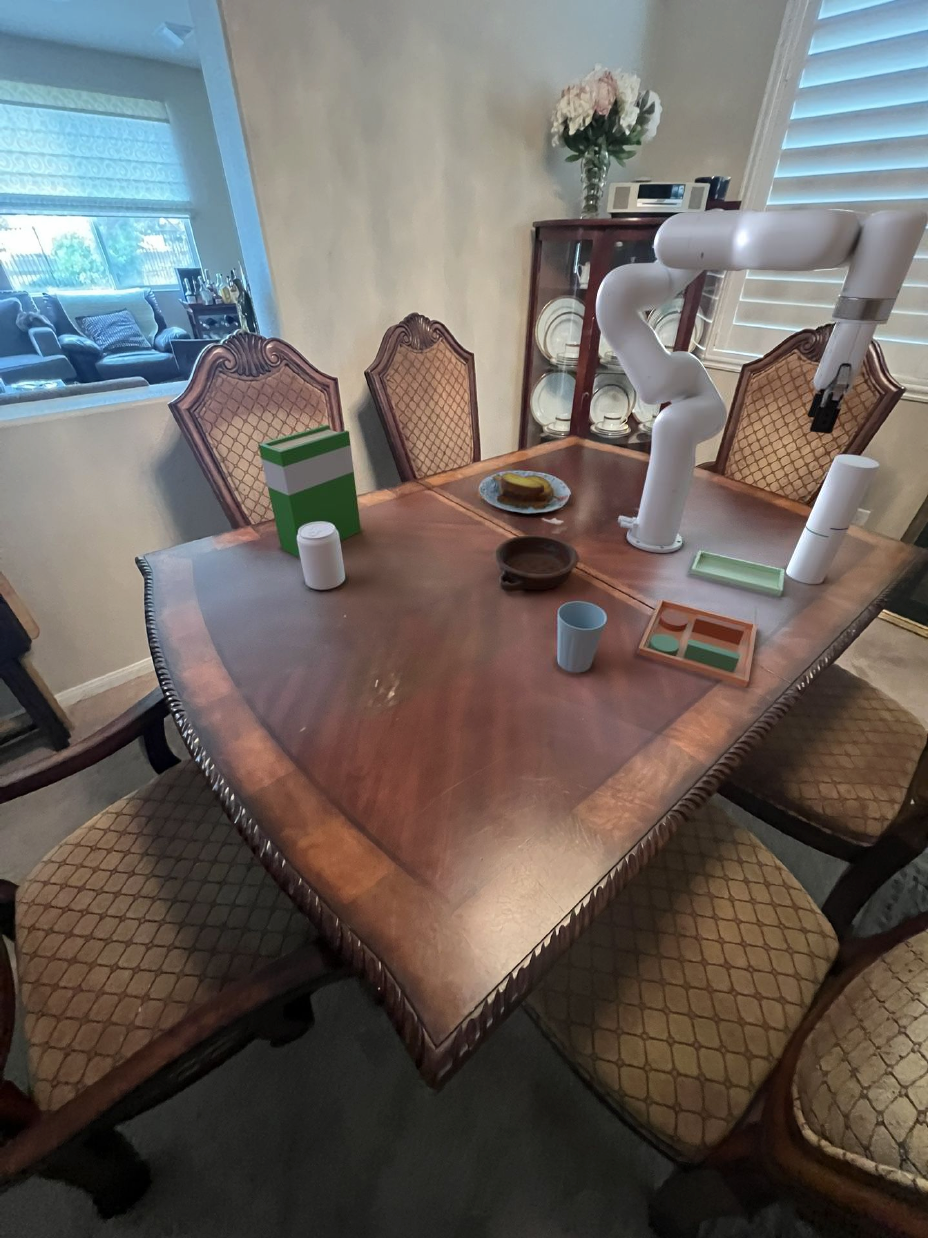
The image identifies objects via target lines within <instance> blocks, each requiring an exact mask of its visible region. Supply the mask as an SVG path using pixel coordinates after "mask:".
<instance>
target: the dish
mask: <svg viewBox="0 0 928 1238" xmlns="http://www.w3.org/2000/svg"><path fill="white" fill-rule="evenodd" d="M494 559H495V561H496V563H497V565H498V569H499V572H500V573H501V575H500V577H499V583H498V584H499V585H498V586H499V588H500V589H501V590H503V591H505V592H516V591H519V590H522V589H525V590H531V591H542V590H543V591H545V590H549V589H553V588H555V587H558V586H560V585H562V584H563V583H564V582H566V580H567V579H569V577H570V575H571V574H572V572H573V570H574V569H575V568H576V567H577V566H578V563H579V562H580V561H579V560H580V556H579V553H578V552H577V550H576V548H574V547H573V546H572V545H570V544H568V543H567V542H565V541H563V540H560V539H557V538H553V537H550V536H543V535H537V534H536V535H535V534H534V535H533V534H530V535H519V536H514V537H510V538H508V539H506V540H505V541H503V542H501V543H500V544H498V545H497V547H496V548H495V550H494Z"/></svg>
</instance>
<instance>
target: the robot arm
mask: <svg viewBox="0 0 928 1238" xmlns="http://www.w3.org/2000/svg"><path fill="white" fill-rule="evenodd" d="M927 226H928V213H927V212H926V211H924V210H921V209H890V210H887V209H885V210H879V211H876V212H874V213H872V212H863V211H857V210H849V209H837V208H813V209H792V210H791V209H790V210H788V209H787V210H763V211H760V210H757V209H754V208H753V209H747V208H746V209H732V210H731V209H729V210H727V209H726V210H705V211H684V212H680V213H677V214H674V215H672V216H670V217H669V218H667V219H666V220H665V221H664V222H663V223H662V224H661V225H660V227H659V228H658V230H657V232H656V234H655V237H654V241H653V251H654V254H655V258H656V260H655V261H654V262H640V263H639V262H638V263H637V262H636V263H627V264H623V265H620V266H618V267H615V268H613V269H612V270H611V271H610V272H609V273H607V274H606V275H605V276H604V278H603V279H602V282H601V283H600V285H599V288H598V291H597V295H596V301H595V318H596V322H597V325H598V328H599V331H600V333H601V335H602V337H603V338H604V340H605V341H606V343H607V345H608V347H610V349H611V351H612V352H613V354H614V355H615V357H616V359H617V360H618V362H619V364H620V366H621V368H622V369H623V371H624V373H625V375H626V377H627V379H628V380H629V382H630V384H631V386H632V387H633V389H634V391H635V393H636V394H637V396H638V397H639V399H640V400H641V401H642V402H643V403H644V404H646V405H651V406H655V405H660V404H661V405H662V404H665V403H668V402H670V403H671V404H669V405H667V406H665V407H664V408H663V409H662V410H661V411H660V412H659V413H658V414H657V416H656V418H655V420H654V422H653V425H652V430H651V448H650V456H649V462H648V467H647V472H646V478H645V482H644V486H643V491H642V495H641V500H640V503H639V508H638V514H637V517H635V516H632V517H628V516H624V515H619V516H618V518H617V524H619V528H621V529H627V532H626V540H627V541H628V542H629V544H631V545H632V546H634V547H635V548H637V549H640V550H642V551H644V552H649V553H654V554H655V553H658V554H667V553H672V552H675V551H679V549H680V548H681V547H682V544H683V538H682V536H681V535H680V534H679V529H680V525H681V521H682V519H683V514H684V510H685V507H686V504H687V499H688V496H689V492H690V489H691V486H692V481H693V477H694V474H695V470H696V453H697V452H696V451H697V450H696V449H697V447H698V445H700V444H701V443H703V442H706V441H709V440H711V439H712V438H715V437H716V436H717V435H719V434H720V433H721V432H722V430H724V427H725V426H726V423H727V418H728V412H727V406H726V404H725V403H726V402H725V401H724V399H723V397H722V396H721V394H720V392H719V390H718V388H717V387H716V385H715V383H714V382H713V380H712V378H711V377H710V375H709V373H708V371H707V369H706V368H705V366H704V365H703V363H702V362H701V360H700V359H699V358H697V356H695V355H694V354H693V353H690V352H689V351H688V352H687V351H684V350H678V351H671V352H670V351H668V350H667V349H666V347H665V346H664V345H663V344H662V342H661V340H660V339H659V336H658V335H657V333H656V331H655V329H654V328H653V327H652V326H651V325H650V324H649V323H648V322H647V321H646V320H645V319H644V318H643V317H642V316H641V315H640V313H639V312H649V311H655V310H657V309H660V308H662V307H665V305H667V304H668V303H670V302H671V301H672V300H673V299H674V298H675V297H677V296H678V294H680V293H681V292H682V291H683V290H684V289H685V288H686V287H687V286H688V285H690V284H691V283H692V282H693V281H694V280H695V279H696V278H698V276H700V274H702V273H703V272H704V271H726V272H727V271H728V272H741V271H743V270H753V271H777V272H778V271H783V272H816V271H831V270H839V269H846V268H848V269H847V272H846V274H845V277H844V280H843V283H842V286H841V289H840V292H839V294H838V297H837V300H836V303H835V306H834V309H833V311H832V314H831V317H830V321H831V322H835V325H834V327H833V329H832V332H831V334H830V336H829V339H828V342H827V344H826V347H825V349H824V352H823V354H822V356H821V359H820V362H819V365H818V367H817V370H816V373H815V374H814V377H813V386H814V389H815V390H816V392H815V394H814V396H813V399H812V402H811V404H810V407H809V409H808V412H807V417H808V418H812V422H811V425H810V427H809V431H810V433H811V432H812V433H820V434H826V435H827V434H828V435H830V434H831V433H832V432H833V430H834V428H835V425H836V423H837V421H838V417H839V415H840V413H841V410H842V406H843V403H844V399H845V395H846V394H847V393H849V392H851V390H852V389H853V386H854V384H855V383H856V380H857V377H858V375H859V374H860V373H859V372H860V371H861V368H862V366H863V363H864V360H865V358H866V355H867V353H868V350H869V348H870V345H871V344H872V341H873V338H874V335H875V332H876V329H877V327H878V325H885V324H888V321H889V319H890V316H891V314H892V311H893V309H894V306H895V304H896V301H897V300H898V299H897V298H898V297H899V294H900V291H901V289H902V287H903V285H904V283H905V280H906V278H907V275H908V272H909V270H910V267H911V265H912V263H913V260H914V257H915V256H916V252H917V251H918V248H919V245H920V243H921V241H922V239H923V236H924V234H925V231H926V228H927Z"/></svg>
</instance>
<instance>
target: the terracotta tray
mask: <svg viewBox="0 0 928 1238" xmlns="http://www.w3.org/2000/svg"><path fill="white" fill-rule="evenodd" d="M668 610H673V611H677V612H680V613H682V614H684V615H685V616H686V617H687V619H688V623H687V626H686V628H685V629H684V630H683V631H679V632H674V631H669V630H667V629H665V628H663V627H662V626H661V625H660V623H659V619H660V616H661V613H662V612H664V611H668ZM697 614H699V615H703V616H706V617H710V618H714V619H717V620H721V621H725V622H728V623H732V624H736V625H739V626H743V627H745V630H744V634H743V636H742V638H741V641H740V643H739V645H737V644H733V643H730V642H726V641H723V640H719V639H716V638H712V637H709V636H705V635H702V634H698V633H695V632H692V628H693V625H694V622H695V619H696V616H697ZM645 629H646V630H645V632H644V634H643V635H642V636H643V637H642V639H641V641H640V643H639V646H638V649H637V652H636V654H638V655H641V656H644V657H647V658H650V659H654V660H657V661H660V662H663V663H667V664H670V665H673V666H676V667H680V668H683V669H686V670H689V671H693V672H695V673H699V674H702V675H706V676H707V677H710V678H711V677H712V678H715V679H718V680H721V681H725V682H728V683H731V684H733V685H737V686H741V687H744V688H747V687H748V685H749V681H750V676H751V671H752V670H751V669H752V663H753V657H754V651H755V643H756V638H757V637H756V636H757V631H758V623H754V622H751V621H747V620H744V619H739V618H736V617H732V616H728V615H725V614H721V613H717V612H714V611H710V610H706V609H702V608H698V607H695V606H690V605H687V604H683V603H679V602H676V601H672V600H669V599H664V598H661V597H660V598H659V600H658V602H657V604H656V607H655V609H654V610H653V613H652V616H651V618H650V620H649V623H648V625H647V626H646V628H645ZM658 634H664V635H668V636H671V637H673V638H675V639H676V640H677V641H678V642H679V650H678V653H677V654H676V655H675V656H672V655H668V654H665V653H662V652H658V651H655V650H652V649H650V648H649V643H650V640H651V638H652V637H653V636H654V635H658ZM689 639H691V640H694V641H698V642H701V643H705V644H708V645H712V646H715V647H718V648H722V649H725V650H729V651H732V652H736V653H739V654H740V657H739V661H738V663H737V666H736V668H735V670H734V673H732V672H729V671H725V670H722V669H719V668H716V667H712V666H709V665H706V664H702V663H699V662H696V661H693V660H689V659H686V658H683V657H684V653H685V650H686V647H687V644H688V641H689Z"/></svg>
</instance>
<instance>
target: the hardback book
mask: <svg viewBox="0 0 928 1238" xmlns="http://www.w3.org/2000/svg"><path fill="white" fill-rule="evenodd" d="M257 446H258V450H259V454H260V459H261V464H262V468H263V473H264V478H265V482H266V486H267V491H268V496H269V499H270V504H271V508H272V513H273V516H274V517H273V519H274V522H275V526H276V531H277V535H278V540H279V544H280V549H281V550H283V551H284V552H286V553H289V554H291V555H293V556H295V557H296V558H299V559H300V560H301V558H300V553H299V548H298V543H297V535H298V530H299V528H300V527H301V526H303V525H305V524H308V523H311V522H319V521H322V522H329V523H331V524H333V525H334V526H335V528H336V530H337V531H338V533H339V538H340V542H341V541H342V540H345V539H347V538H350V537H352V536H354V535H356V534H359V533H360V532H362V528H361V520H360V513H359V511H360V510H359V503H358V494H357V486H356V478H355V469H354V462H353V453H352V445H351V436H350V431H349V430H343V431H339V432H338V431H335V430H332V429H331V425H330V424H324V425H321V426H317V427H313V428H311V429H307V430H303V431H300V432H296V433H292V434H289V435H286V436H282V437H279V438H275V439H272V440H268V441H265V442H261V443H258V444H257Z"/></svg>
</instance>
